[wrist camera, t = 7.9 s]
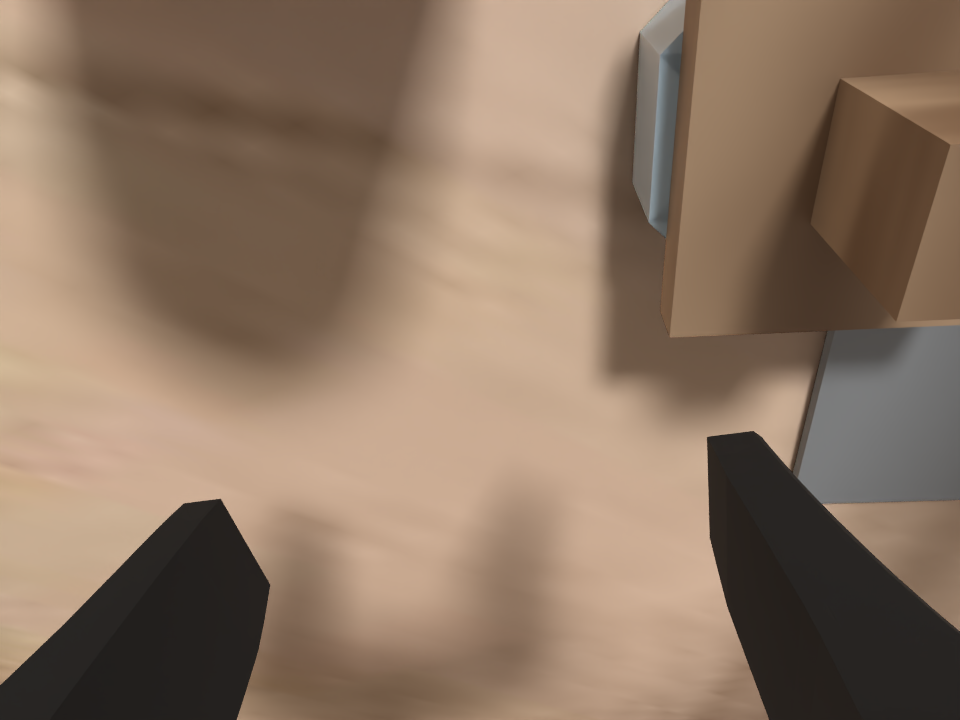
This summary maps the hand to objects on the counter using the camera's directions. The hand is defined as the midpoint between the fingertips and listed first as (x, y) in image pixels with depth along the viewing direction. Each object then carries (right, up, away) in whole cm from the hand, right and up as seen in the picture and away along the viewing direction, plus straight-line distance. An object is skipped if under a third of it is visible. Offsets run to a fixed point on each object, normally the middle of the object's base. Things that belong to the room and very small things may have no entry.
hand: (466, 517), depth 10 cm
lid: (+8, +7, +4) cm, 11 cm away
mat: (+15, +1, +11) cm, 18 cm away
